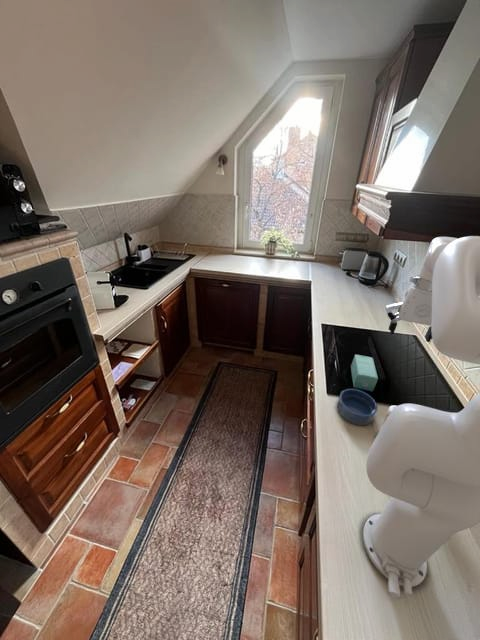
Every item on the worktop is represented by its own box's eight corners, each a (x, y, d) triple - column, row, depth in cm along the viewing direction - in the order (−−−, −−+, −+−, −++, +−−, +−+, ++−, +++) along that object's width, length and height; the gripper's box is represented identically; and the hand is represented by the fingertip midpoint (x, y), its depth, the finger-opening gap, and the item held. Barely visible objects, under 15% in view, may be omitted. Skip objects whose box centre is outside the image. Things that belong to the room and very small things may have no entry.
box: (353, 388, 101) (358, 374, 97) (350, 367, 112) (354, 353, 108) (373, 392, 99) (379, 378, 95) (367, 370, 110) (372, 357, 107)
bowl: (373, 431, 84) (378, 421, 82) (335, 418, 88) (338, 408, 86) (372, 404, 94) (376, 395, 91) (338, 394, 98) (341, 384, 95)
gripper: (397, 283, 70) (378, 335, 78) (474, 295, 64) (444, 349, 72) (394, 275, 76) (377, 324, 84) (464, 285, 70) (438, 336, 78)
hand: (408, 335), depth 78 cm, fingers open, 9 cm apart
